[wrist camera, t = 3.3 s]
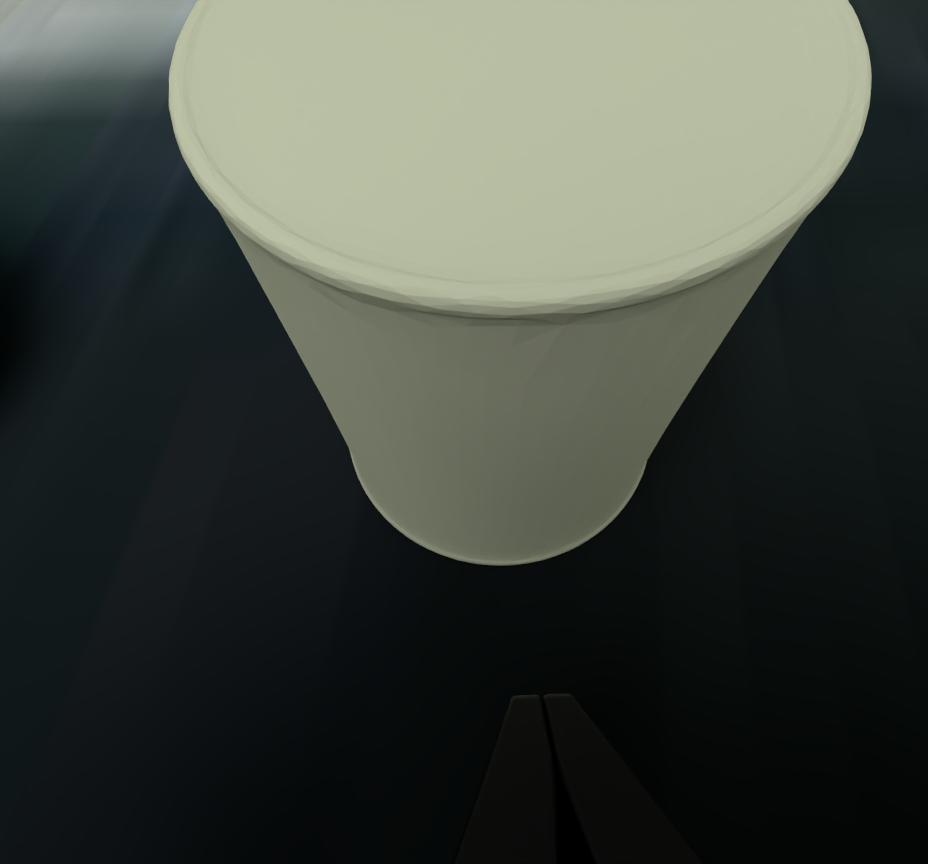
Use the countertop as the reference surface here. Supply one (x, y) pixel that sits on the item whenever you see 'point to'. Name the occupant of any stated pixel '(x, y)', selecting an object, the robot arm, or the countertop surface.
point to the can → (513, 224)
